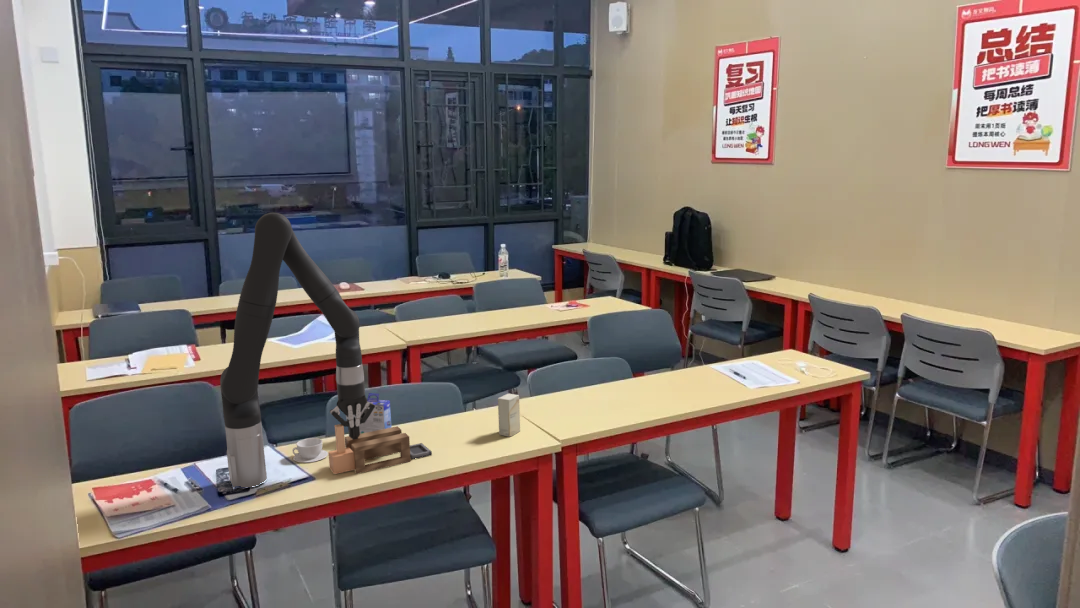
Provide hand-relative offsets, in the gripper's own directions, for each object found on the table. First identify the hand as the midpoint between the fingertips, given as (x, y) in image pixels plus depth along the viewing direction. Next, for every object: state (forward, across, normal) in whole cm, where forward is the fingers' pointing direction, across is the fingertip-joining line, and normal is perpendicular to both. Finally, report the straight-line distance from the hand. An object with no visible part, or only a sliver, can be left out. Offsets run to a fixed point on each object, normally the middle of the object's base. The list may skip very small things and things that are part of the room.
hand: (354, 438), depth 219 cm
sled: (+9, -4, 0) cm, 10 cm away
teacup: (+9, -10, +15) cm, 20 cm away
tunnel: (+9, +6, 0) cm, 11 cm away
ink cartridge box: (+9, +12, +18) cm, 23 cm away
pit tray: (+9, +18, 0) cm, 20 cm away
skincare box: (+9, +50, -1) cm, 50 cm away
